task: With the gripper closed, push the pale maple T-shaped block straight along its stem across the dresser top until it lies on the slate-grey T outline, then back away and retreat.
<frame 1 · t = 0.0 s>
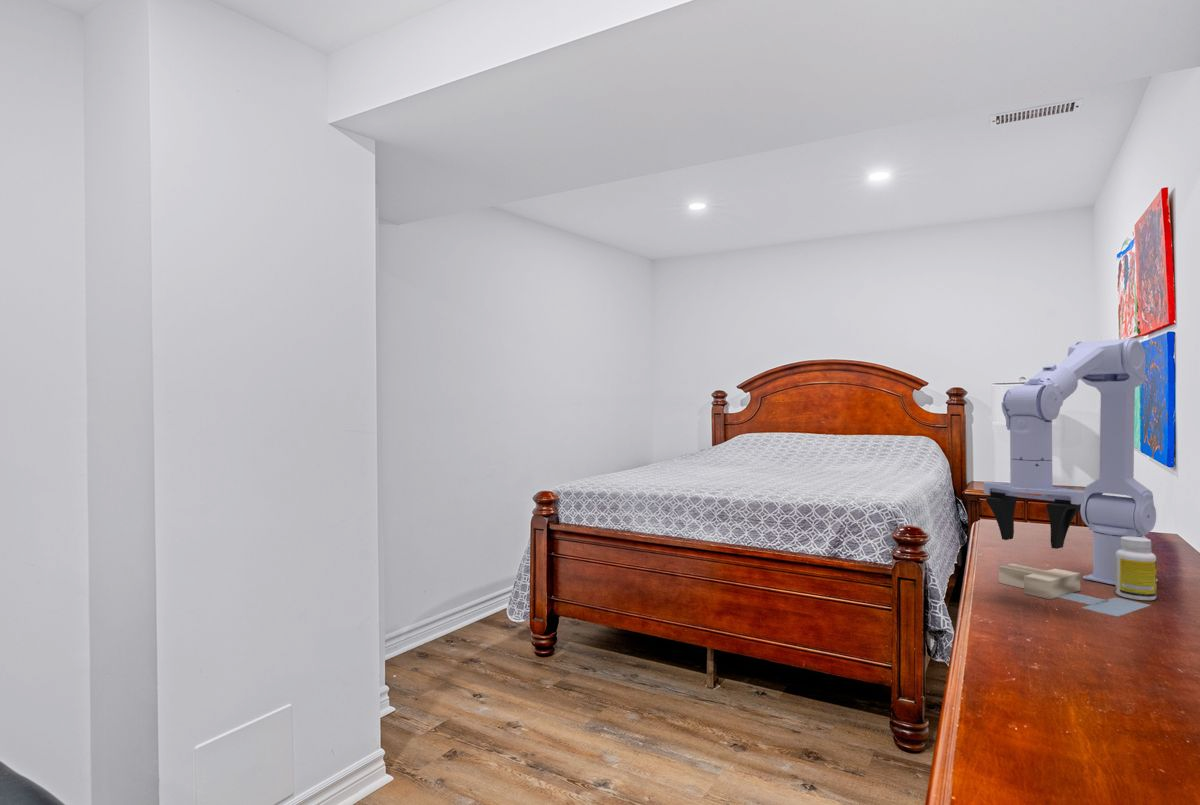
hand: (1031, 543, 108), 10 cm above the dresser top, tool pointing down, fingers open, 7 cm apart
slate t outline: (1095, 601, 110), on the dresser top
maple t block: (1034, 587, 118), on the dresser top, touching slate t outline
supplement bottle: (1135, 597, 113), on the dresser top
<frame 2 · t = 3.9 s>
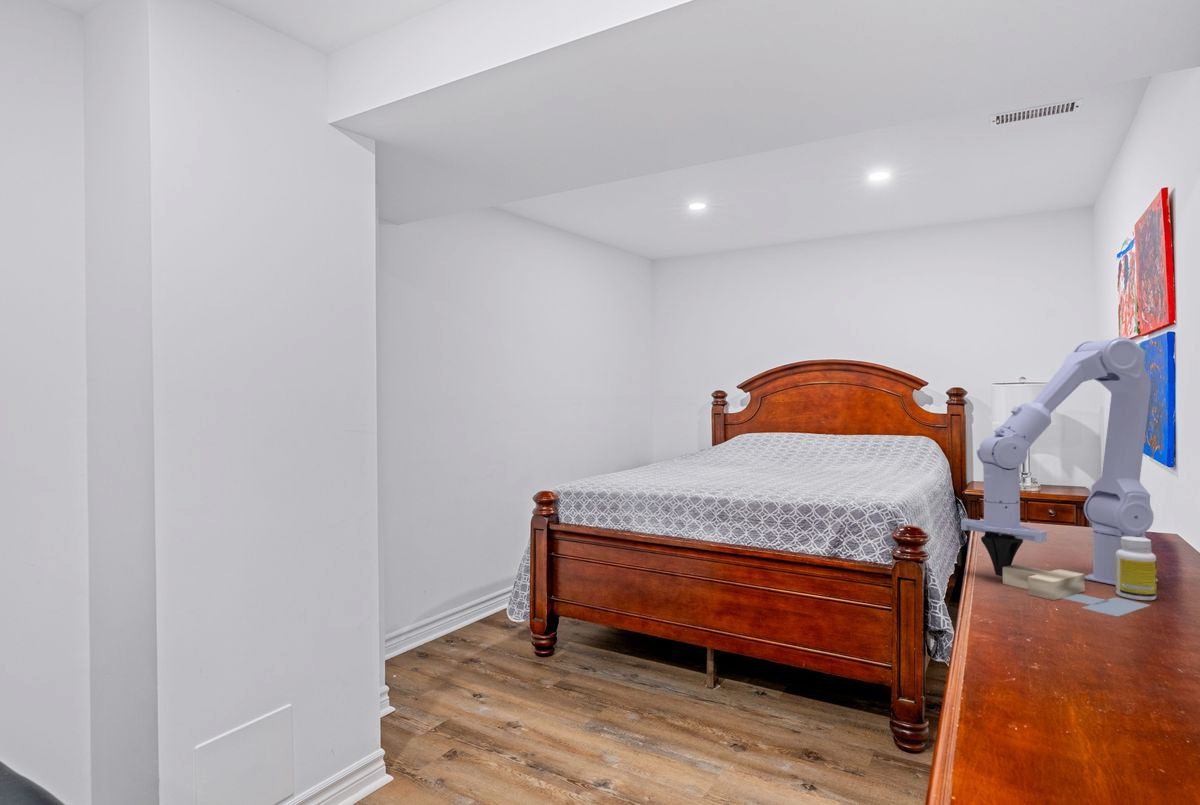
hand: (1002, 575, 123), 1 cm above the dresser top, tool pointing down, fingers closed
maple t block: (1038, 588, 118), on the dresser top, touching gripper, slate t outline
everything else where it was.
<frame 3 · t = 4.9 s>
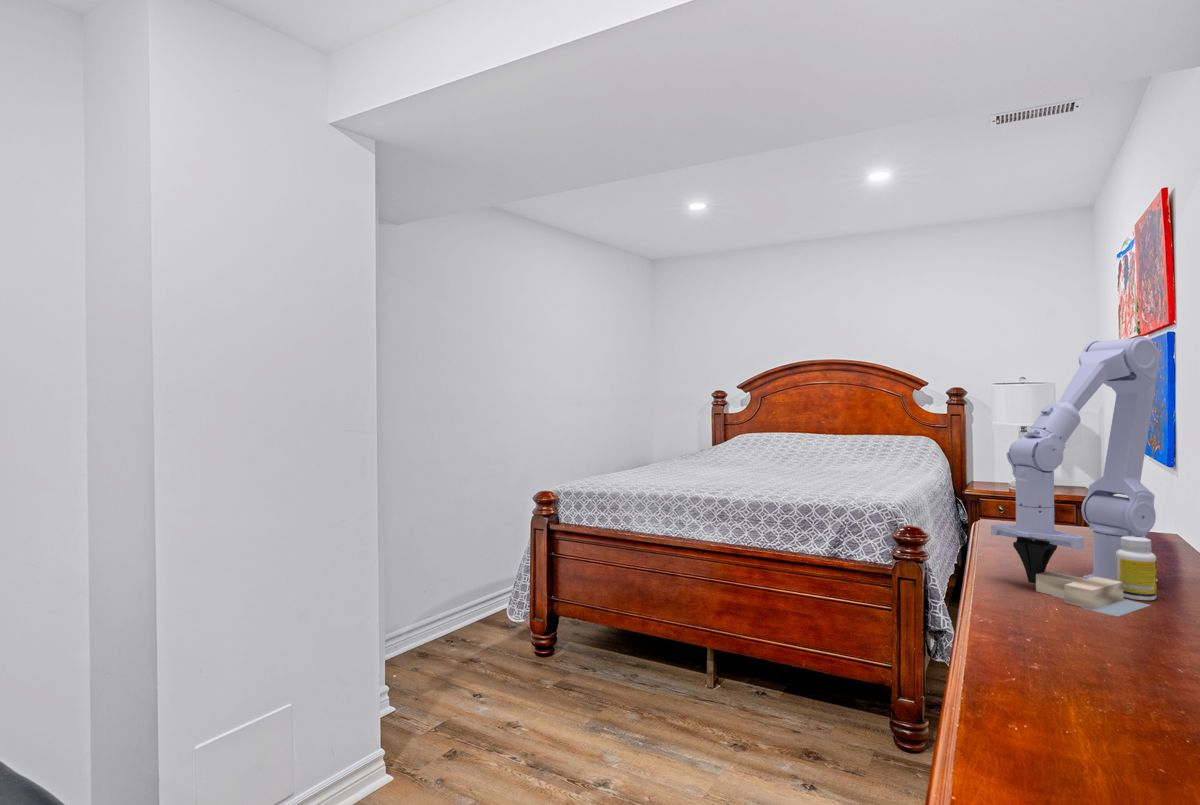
hand: (1035, 582, 118), 1 cm above the dresser top, tool pointing down, fingers closed
maple t block: (1073, 596, 113), on the dresser top, touching gripper
everything else where it was.
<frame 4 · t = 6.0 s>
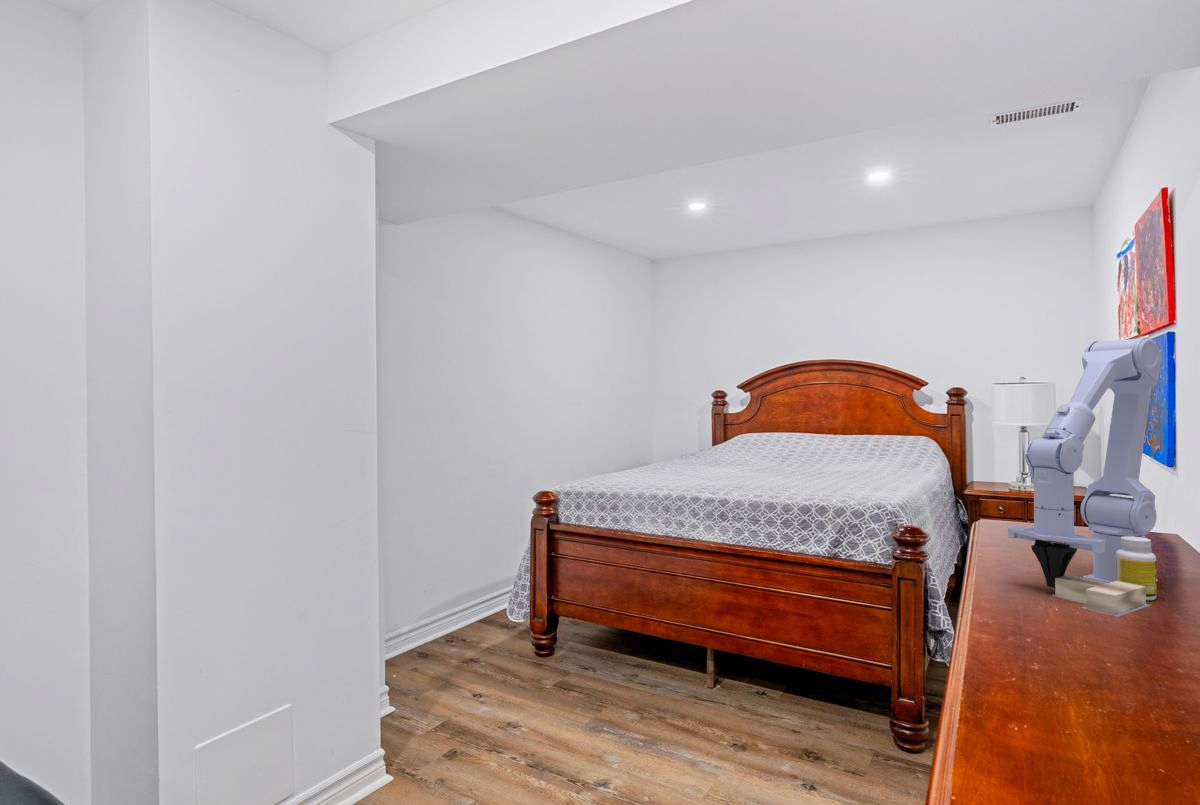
hand: (1054, 586, 115), 1 cm above the dresser top, tool pointing down, fingers closed
maple t block: (1094, 601, 110), on the dresser top, touching gripper, slate t outline
everything else where it was.
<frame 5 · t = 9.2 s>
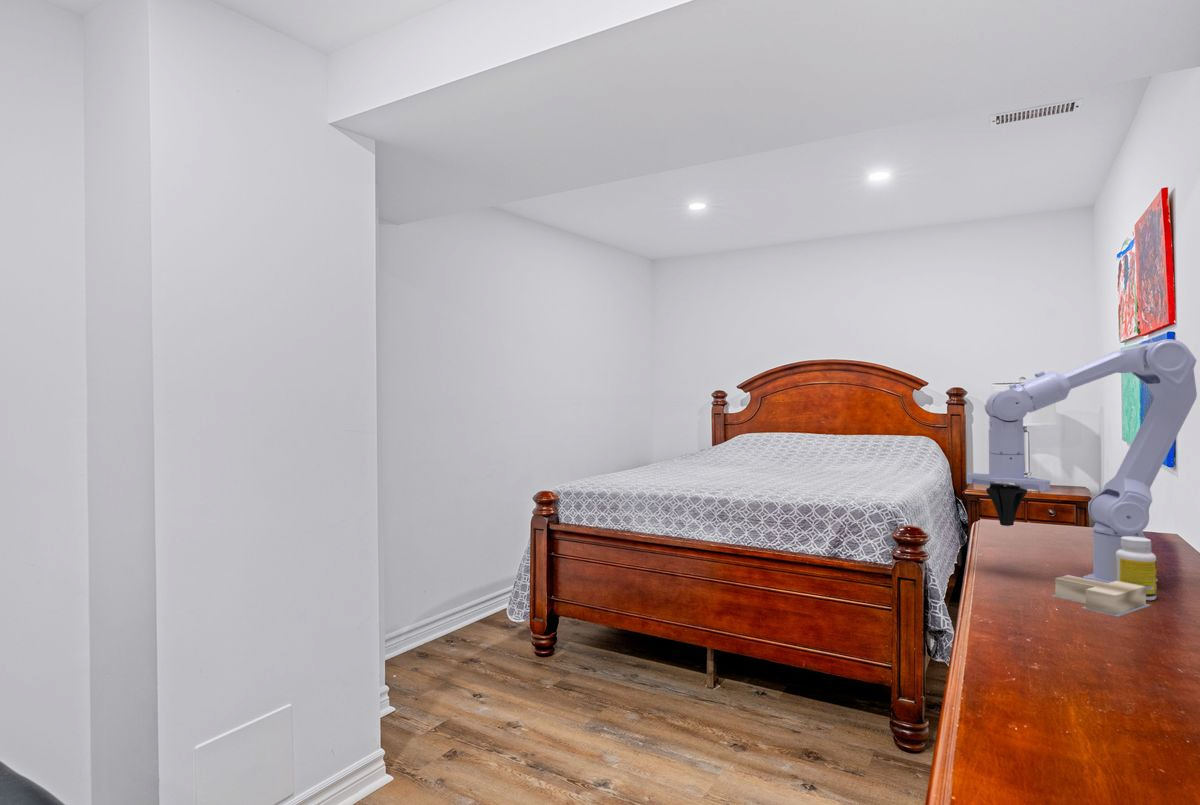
hand: (1006, 525, 127), 9 cm above the dresser top, tool pointing down, fingers closed
maple t block: (1094, 601, 110), on the dresser top, touching slate t outline
everything else where it was.
at the end: maple t block 0.1 cm off-centre on the slate t outline, point 0.0 cm above the slate t outline's base; maple t block tilted 0° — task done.
